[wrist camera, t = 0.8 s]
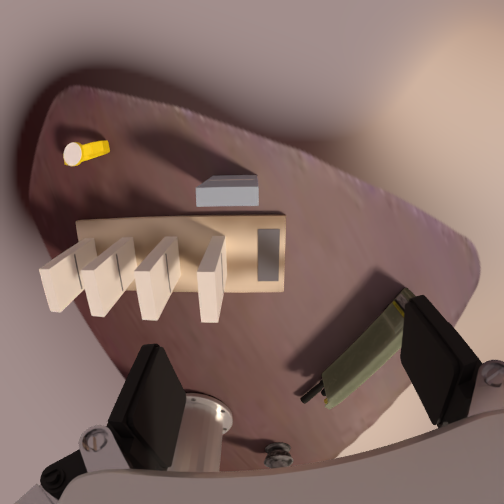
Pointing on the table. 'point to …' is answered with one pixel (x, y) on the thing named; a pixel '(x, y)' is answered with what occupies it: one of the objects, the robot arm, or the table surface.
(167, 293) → the domino
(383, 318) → the handheld radio
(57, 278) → the domino
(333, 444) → the table surface
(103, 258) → the domino
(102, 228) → the board
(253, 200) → the domino
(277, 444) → the dark grey tall piece
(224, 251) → the domino
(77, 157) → the yellow wristwatch
